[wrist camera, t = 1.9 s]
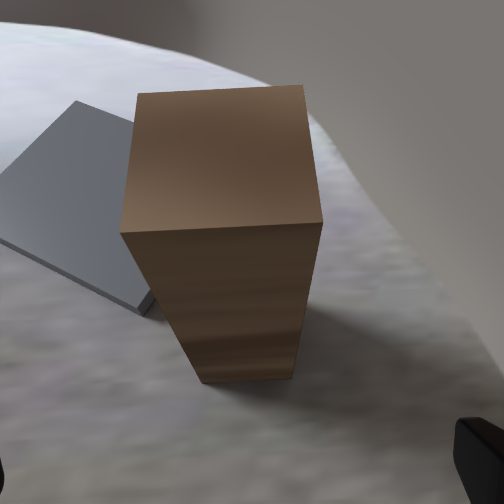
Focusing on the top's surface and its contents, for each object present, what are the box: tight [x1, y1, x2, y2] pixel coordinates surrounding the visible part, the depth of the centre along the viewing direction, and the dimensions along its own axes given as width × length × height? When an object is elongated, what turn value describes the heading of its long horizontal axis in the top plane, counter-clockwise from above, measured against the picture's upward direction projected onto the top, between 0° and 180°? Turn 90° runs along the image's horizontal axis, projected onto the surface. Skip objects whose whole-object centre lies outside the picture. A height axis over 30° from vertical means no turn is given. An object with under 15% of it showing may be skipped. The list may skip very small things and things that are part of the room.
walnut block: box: [120, 85, 323, 383], centre depth 17 cm, size 4×4×14 cm
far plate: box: [0, 101, 155, 317], centre depth 27 cm, size 13×11×1 cm
